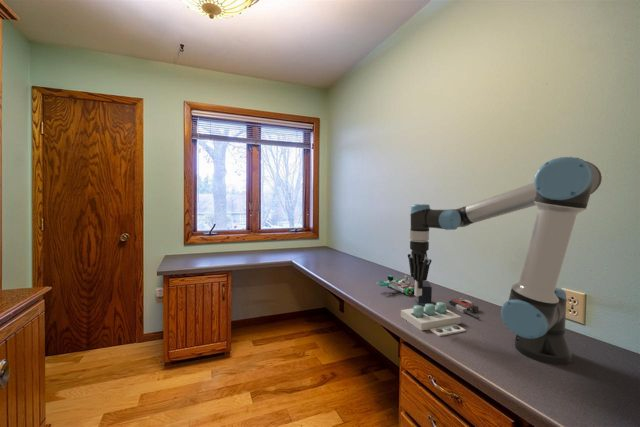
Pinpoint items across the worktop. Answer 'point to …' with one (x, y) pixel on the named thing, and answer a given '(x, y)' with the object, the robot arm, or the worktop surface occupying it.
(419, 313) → the button
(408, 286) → the robot kit
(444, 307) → the button
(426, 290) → the small box
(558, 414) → the worktop surface
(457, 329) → the pattern card
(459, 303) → the walkie-talkie
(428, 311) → the button
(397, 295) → the worktop surface
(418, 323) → the board
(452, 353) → the worktop surface
